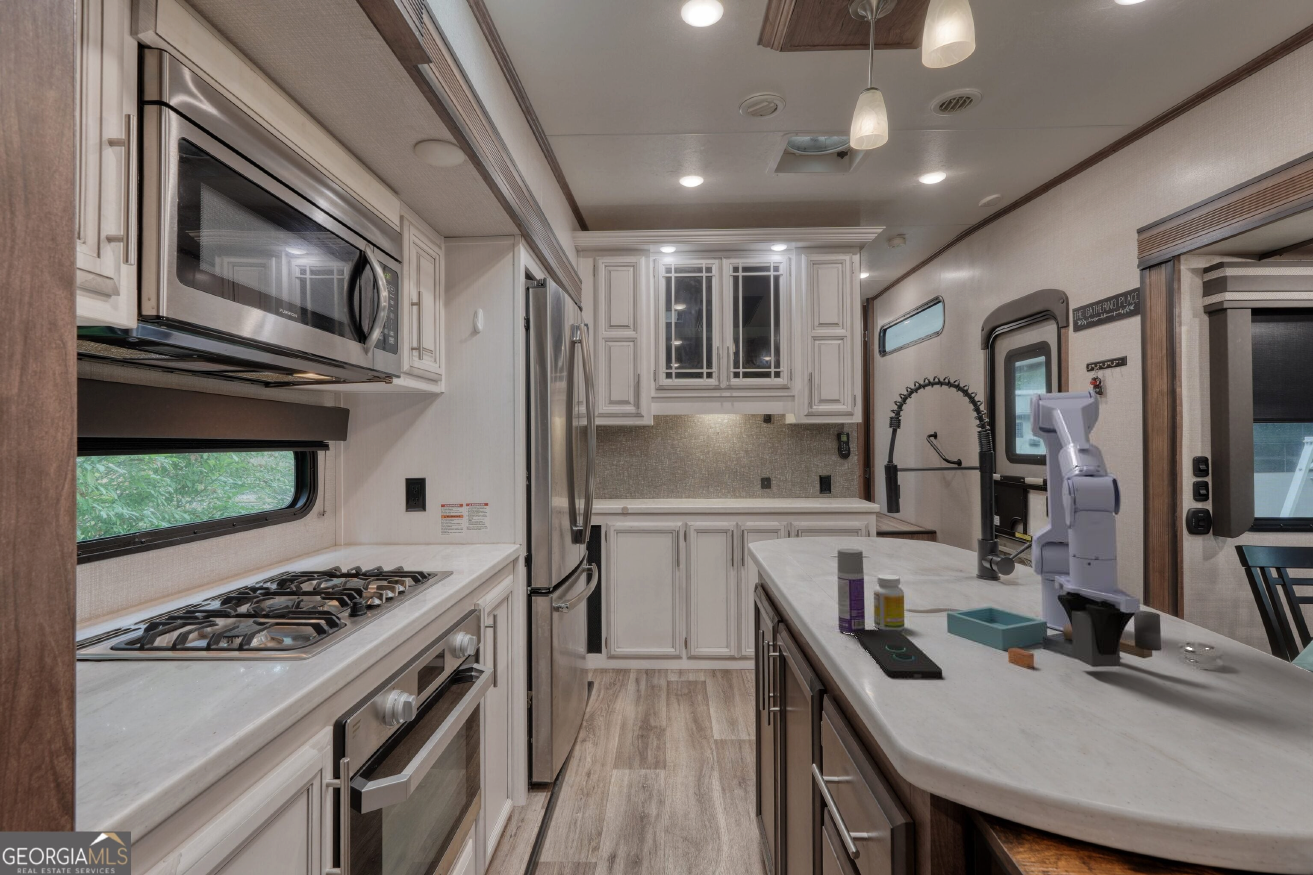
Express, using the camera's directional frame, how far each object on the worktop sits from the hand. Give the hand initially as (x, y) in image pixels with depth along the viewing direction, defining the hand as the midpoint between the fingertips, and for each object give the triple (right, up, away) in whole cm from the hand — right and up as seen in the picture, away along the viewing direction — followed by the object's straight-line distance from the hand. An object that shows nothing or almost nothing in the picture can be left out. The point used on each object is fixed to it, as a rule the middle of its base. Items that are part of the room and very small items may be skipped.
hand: (1095, 648), depth 87 cm
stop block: (0, -2, 0) cm, 2 cm away
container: (-29, -5, +22) cm, 37 cm away
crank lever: (+6, -1, +5) cm, 8 cm away
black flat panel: (-26, -5, +9) cm, 28 cm away
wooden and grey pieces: (-1, -4, +7) cm, 8 cm away
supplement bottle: (-21, -5, +24) cm, 32 cm away
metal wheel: (+18, -4, +3) cm, 19 cm away
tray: (-5, -4, +17) cm, 18 cm away
